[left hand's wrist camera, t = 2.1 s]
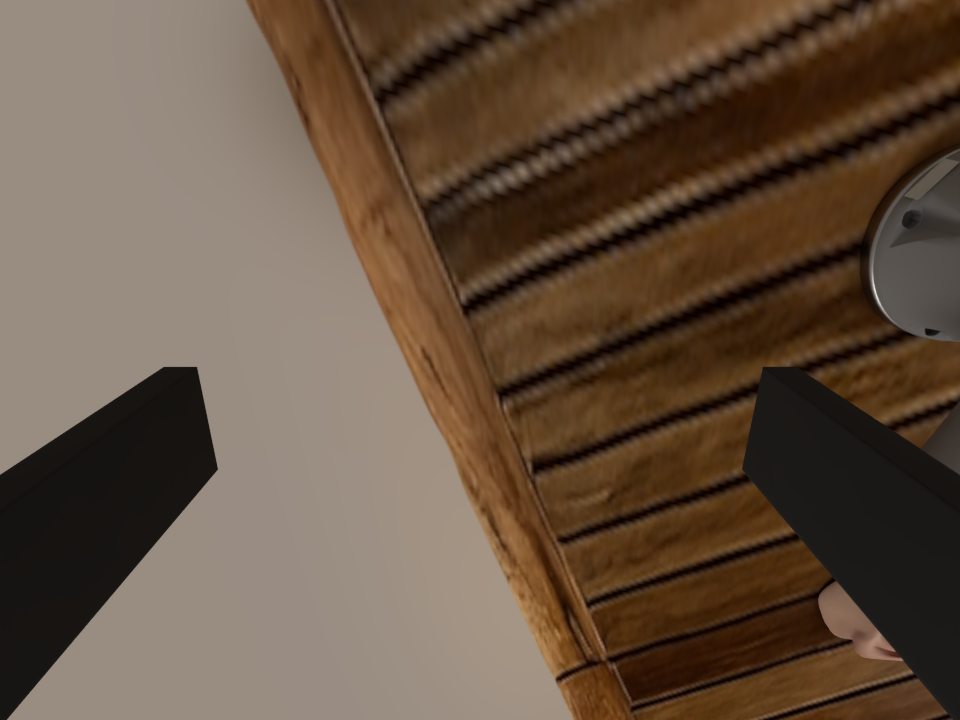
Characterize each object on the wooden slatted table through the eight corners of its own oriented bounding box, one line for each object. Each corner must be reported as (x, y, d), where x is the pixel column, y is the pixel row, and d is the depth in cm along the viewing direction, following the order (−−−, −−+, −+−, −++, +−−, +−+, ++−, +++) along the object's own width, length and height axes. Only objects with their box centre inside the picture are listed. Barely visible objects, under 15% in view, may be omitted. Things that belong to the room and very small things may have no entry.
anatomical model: (820, 641, 52) (917, 566, 48) (797, 609, 55) (886, 536, 52) (906, 698, 54) (1004, 630, 51) (879, 663, 58) (968, 598, 55)
